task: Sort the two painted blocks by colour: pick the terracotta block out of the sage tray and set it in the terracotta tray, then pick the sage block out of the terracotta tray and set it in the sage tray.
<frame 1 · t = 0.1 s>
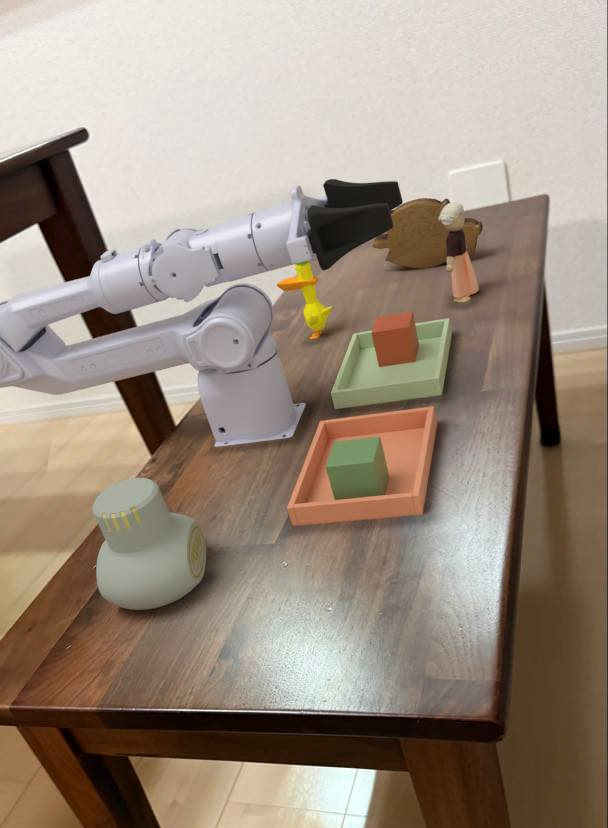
hand: (395, 203, 79), 22 cm above the bench, tool horizontal, fingers open, 7 cm apart
terracotta tray: (369, 476, 83), on the bench
sage tray: (396, 373, 100), on the bench
air freshener: (165, 587, 76), on the bench
grandmother figurine: (465, 299, 114), on the bench
terracotta block: (399, 356, 102), point 1 cm above the bench, touching sage tray
wooden carving: (431, 266, 128), on the bench
sage block: (363, 491, 80), point 1 cm above the bench, touching terracotta tray
toy figure: (316, 340, 115), on the bench
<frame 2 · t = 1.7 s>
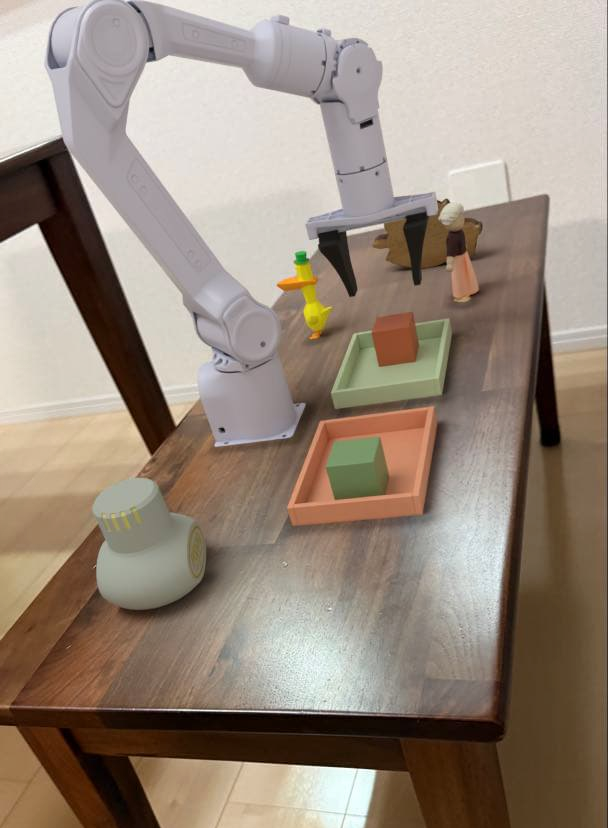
hand: (385, 288, 98), 9 cm above the bench, tool pointing down, fingers open, 7 cm apart
nothing on the bench moved.
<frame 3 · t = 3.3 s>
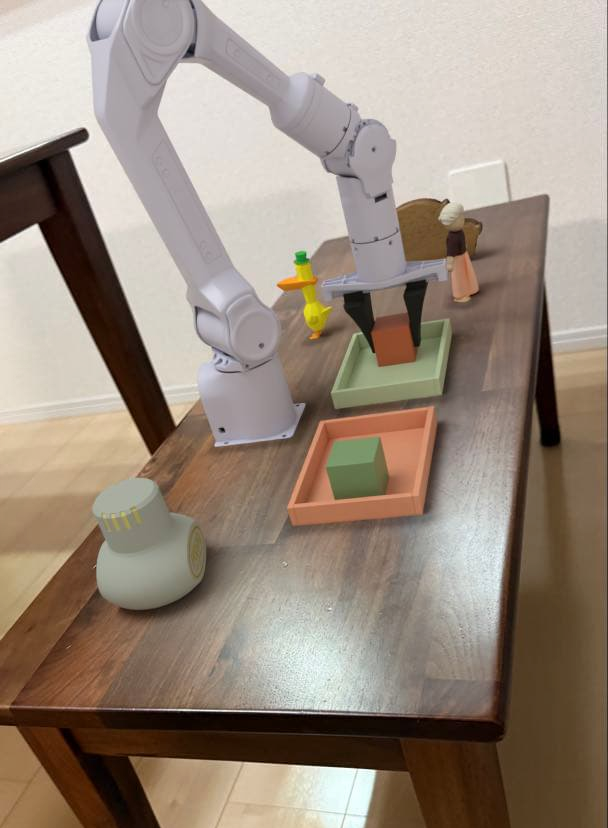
hand: (397, 346, 102), 2 cm above the bench, tool pointing down, fingers closed on terracotta block, 4 cm apart
terracotta block: (398, 356, 102), point 1 cm above the bench, touching gripper, sage tray
everything else where it was.
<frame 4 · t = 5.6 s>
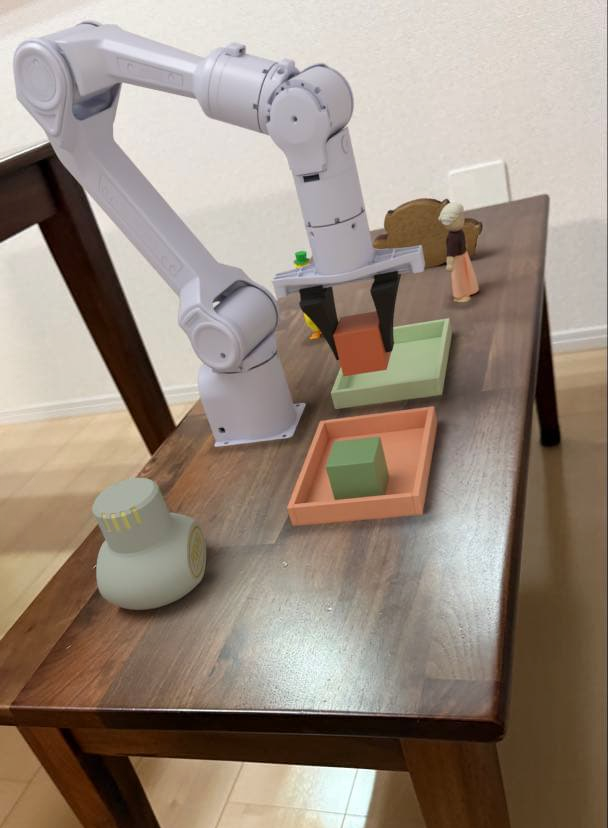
hand: (365, 351, 85), 9 cm above the bench, tool pointing down, fingers closed on terracotta block, 4 cm apart
terracotta block: (367, 363, 86), point 8 cm above the bench, touching gripper
everything else where it was.
when the fingers open (2 cm above the bench, at t = 8.2 s): terracotta block stays where it is, resting on terracotta tray.
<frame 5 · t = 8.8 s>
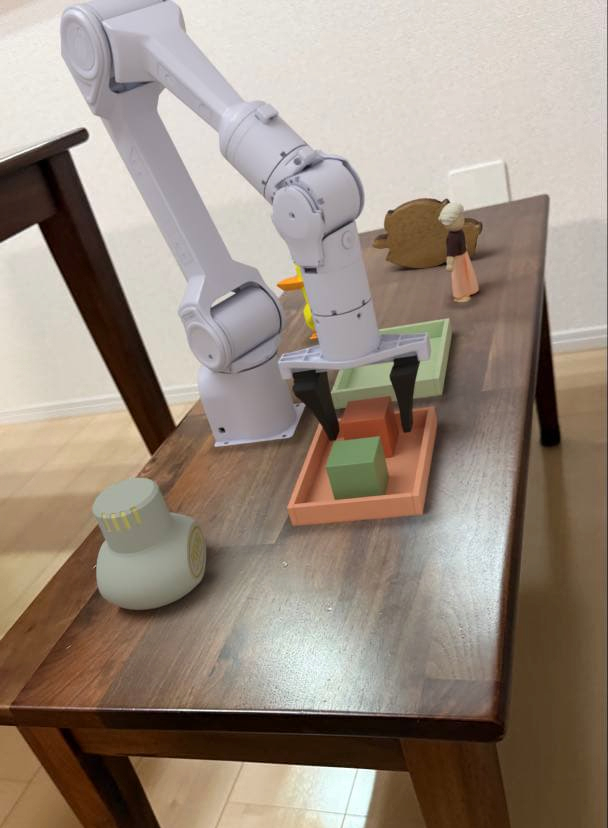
hand: (371, 431, 85), 2 cm above the bench, tool pointing down, fingers open, 7 cm apart
terracotta block: (374, 447, 86), point 1 cm above the bench, touching terracotta tray
everything else where it was.
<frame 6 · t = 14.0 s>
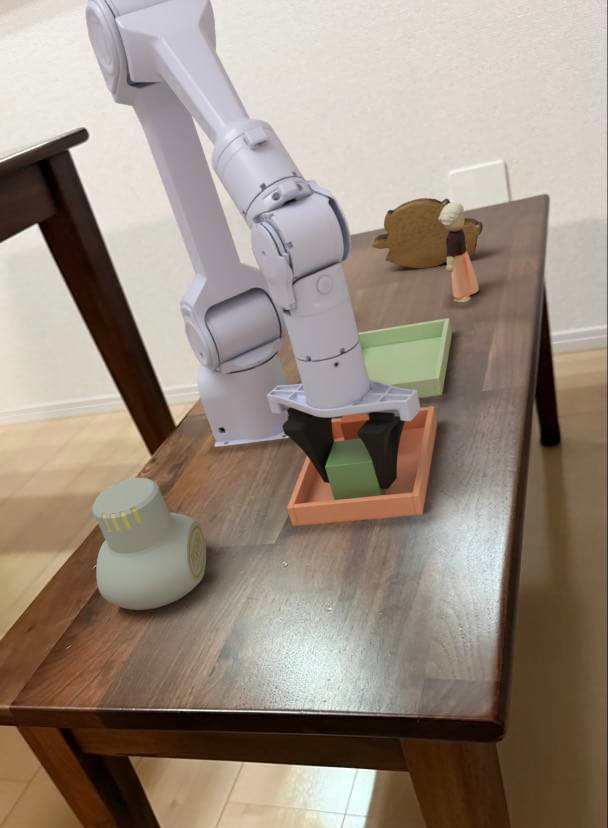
hand: (360, 480, 79), 2 cm above the bench, tool pointing down, fingers closed on sage block, 5 cm apart
sage block: (362, 491, 80), point 1 cm above the bench, touching gripper, terracotta tray
everything else where it was.
when the fingers open (2 cm above the bench, at t = 19.3 s): sage block stays where it is, resting on sage tray.
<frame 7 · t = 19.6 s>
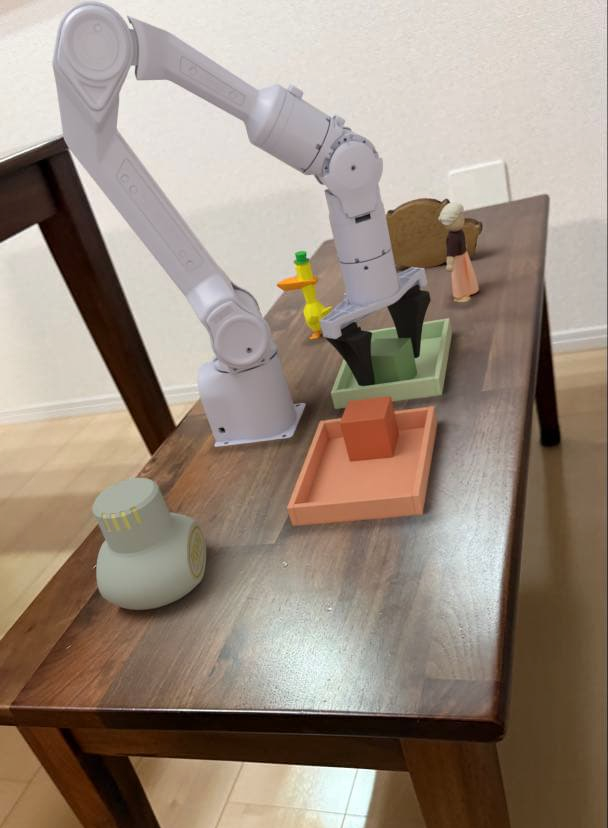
hand: (389, 370, 96), 2 cm above the bench, tool pointing down, fingers open, 7 cm apart
sage block: (392, 382, 97), point 1 cm above the bench, touching sage tray
everything else where it was.
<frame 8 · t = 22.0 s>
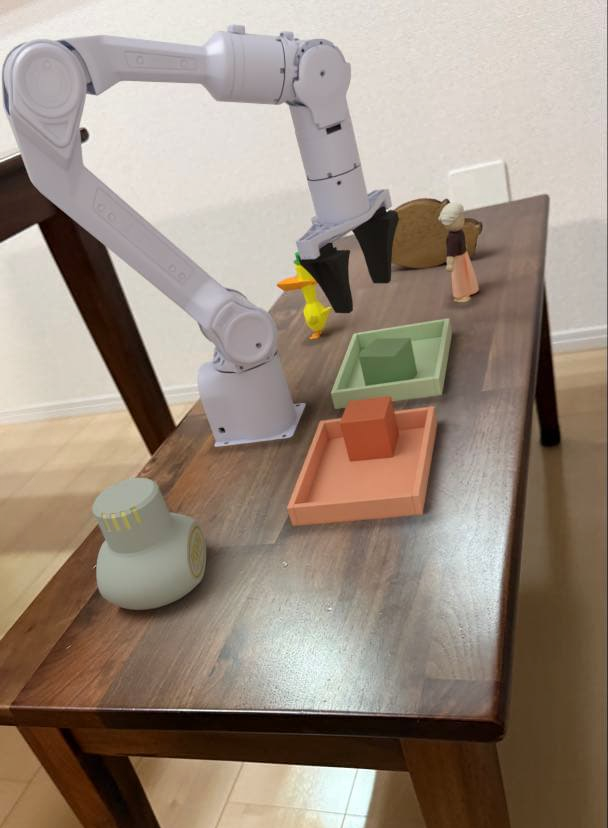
hand: (363, 296, 94), 10 cm above the bench, tool pointing down, fingers open, 7 cm apart
nothing on the bench moved.
at the end: terracotta block inside the target area in the terracotta tray (4.5 cm from its centre), point 0.6 cm above the terracotta tray's base; sage block inside the target area in the sage tray (3.5 cm from its centre), point 0.6 cm above the sage tray's base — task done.
